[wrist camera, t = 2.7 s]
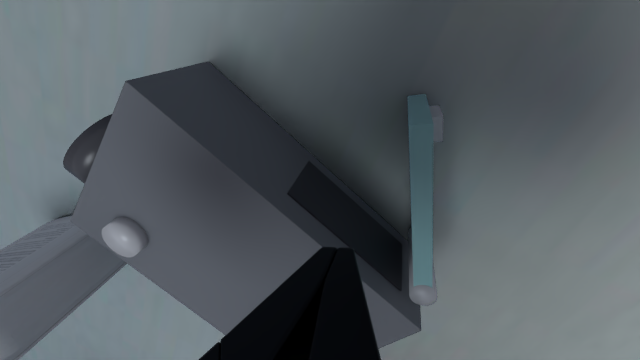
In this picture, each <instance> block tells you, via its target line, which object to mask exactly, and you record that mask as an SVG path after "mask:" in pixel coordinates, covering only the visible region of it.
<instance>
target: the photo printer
mask: <svg viewBox="0 0 640 360" xmlns="http://www.w3.org/2000/svg"><path fill="white" fill-rule="evenodd" d="M71 217H72V216H67V217H63V218H59V219H56V220H53V221H51V222H49V223H47V224H45V225H43V226H41V227H39V228H37V229H36V230H34V231H32V232H31V233H29V234H27V235H26V236H24V237H22V238H20V239H19V240H17V241H15V242H14V243H12V244H10V245H8V246H7V247H5V248H3V249H2V250H0V360H18V359H19V358H21V357H22V356H23V355H24V354H25V353H27V352H28V351H29V350H30V349H31V348H32V347H33V346H35V345H36V344H37V343H38V342H39V341H40V340H41V339H43V338H44V337H45V336H46V335H47V334H48V333H49V332H50V331H52V330H53V329H54V328H55V327H56V326H57V325H58V324H60V323H61V322H62V321H63V320H64V319H65V318H66V317H67V316H69V315H70V314H71V313H72V312H73V311H74V310H75V309H76V308H77V307H79V306H80V305H81V304H82V303H83V302H84V301H86V300H87V299H88V298H89V297H90V296H91V295H92V294H93V293H94V292H96V291H97V290H98V289H99V288H100V287H101V286H102V285H104V284H105V283H106V282H107V281H108V280H109V279H110V278H111V277H113V276H114V275H115V274H116V273H117V272H118V271H119V270H120V269H121V268H123V267H124V266H125V265H126V264H127V263H126V262H125V261H123V260H122V259H121V258H119V257H118V256H117V255H115V254H114V253H113V252H111V251H110V250H108V249H107V248H106V247H104V246H103V245H102V244H100V243H99V242H98V241H96V240H95V239H93V238H92V237H91V236H89V235H88V234H87V233H85V232H84V231H83V230H81V229H80V228H78V227H77V226H76V225H74V224H73V223H72V222H70V220H71Z"/></svg>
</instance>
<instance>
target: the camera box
mask: <svg viewBox="0 0 640 360" xmlns="http://www.w3.org/2000/svg"><path fill="white" fill-rule="evenodd" d="M63 165H64V168H65V169H66V170H67V171H69V172H70V173H71V174H73V175H74V176H75V177H77V178H78V179H79V180H81V181H82V182H83V183H84V184H85V185H84V187H83V190H82V192H81V195H80V197H79V200H78V202H77V205H76V207H75V210H74V212H73V215H72V217H71V220H70V222H72V223H73V224H74V225H76V226H77V227H78V228H80V229H81V230H83V231H84V232H85V233H87V234H88V235H89V236H91V237H92V238H93V239H95V240H96V241H98V242H99V243H100V244H102V245H103V246H104V247H106V248H107V249H108V250H110V251H111V252H113V253H114V254H115V255H117V256H118V257H119V258H121V259H122V260H123V261H125V262H126V263H128V264H129V265H130V266H132V267H133V268H134V269H136V270H137V271H138V272H140V273H141V274H143V275H144V276H145V277H147V278H148V279H149V280H151V281H152V282H153V283H155V284H156V285H158V286H159V287H160V288H162V289H163V290H164V291H166V292H167V293H168V294H170V295H171V296H173V297H174V298H175V299H177V300H178V301H179V302H181V303H182V304H184V305H185V306H186V307H188V308H189V309H190V310H192V311H193V312H194V313H196V314H197V315H199V316H200V317H201V318H203V319H204V320H205V321H207V322H208V323H209V324H211V325H212V326H214V327H215V328H216V329H218V330H219V331H220V332H222V333H223V334H224V335H226V334H228V333H229V332H230V331H231V330H232V329H233V328H234V327H235V326H236V325H237V324H238V323H240V322H241V321H242V320H243V319H244V318H245V317H246V316H247V315H248V314H249V313H250V312H252V311H253V310H254V309H255V308H256V307H257V306H258V305H259V304H260V303H261V302H262V301H264V300H265V299H266V298H267V297H268V296H269V295H270V294H271V293H272V292H273V291H274V290H276V289H277V288H278V287H279V286H280V285H281V284H282V283H283V282H284V281H285V280H286V279H288V278H289V277H290V276H291V275H292V274H293V273H294V272H295V271H296V270H297V269H299V268H300V267H301V266H302V265H303V264H304V263H305V262H306V261H307V260H308V259H309V258H311V257H312V256H313V255H314V254H315V253H316V252H317V251H318V250H319V249H320V248H322V247H336V248H337V249H338V248H340V247H346V248H353V249H354V251H355V255H356V259H357V263H358V268H359V272H360V276H361V280H362V284H363V288H364V292H365V296H366V300H367V304H368V308H369V313H370V317H371V321H372V325H373V329H374V333H375V337H376V341H377V345H378V349H379V348H381V347H383V346H386V345H388V344H390V343H393V342H395V341H398V340H400V339H402V338H405V337H407V336H409V335H412V334H414V333H417V332H419V331H421V315H420V305H418V304H416V303H414V302H413V301H412V300H411V299H410V297H409V249H408V241H407V240H406V239H405V238H404V237H403V236H401V235H400V234H399V233H398V232H397V231H396V230H395V229H394V228H393V227H391V226H390V225H389V224H388V223H387V222H386V221H385V220H384V219H383V218H381V217H380V216H379V215H378V214H377V213H376V212H375V211H374V210H373V209H371V208H370V207H369V206H368V205H367V204H366V203H365V202H364V201H363V200H361V199H360V198H359V197H358V196H357V195H356V194H355V193H354V192H353V191H351V190H350V189H349V188H348V187H347V186H346V185H345V184H344V183H343V182H341V181H340V180H339V179H338V178H337V177H336V176H335V175H334V174H333V173H331V172H330V171H329V170H328V169H327V168H326V167H325V166H324V165H323V164H321V163H320V162H319V161H318V160H317V159H316V158H315V157H314V156H313V155H311V154H310V153H309V152H308V151H307V150H306V149H305V148H304V147H303V146H301V145H300V144H299V143H298V142H297V141H296V140H295V139H294V138H293V137H292V136H290V135H289V134H288V133H287V132H286V131H285V130H284V129H283V128H282V127H280V126H279V125H278V124H277V123H276V122H275V121H274V120H273V119H272V118H270V117H269V116H268V115H267V114H266V113H265V112H264V111H263V110H262V109H260V108H259V107H258V106H257V105H256V104H255V103H254V102H253V101H252V100H250V99H249V98H248V97H247V96H246V95H245V94H244V93H243V92H242V91H240V90H239V89H238V88H237V87H236V86H235V85H234V84H233V83H232V82H230V81H229V80H228V79H227V78H226V77H225V76H224V75H223V74H222V73H220V72H219V71H218V70H217V69H216V68H215V67H214V66H213V65H212V64H210V63H209V62H204V63H200V64H196V65H191V66H187V67H183V68H179V69H175V70H170V71H166V72H162V73H158V74H153V75H149V76H145V77H141V78H136V79H132V80H128V81H125V84H124V86H123V89H122V91H121V94H120V96H119V99H118V101H117V104H116V106H115V109H114V111H113V114H111V115H109V116H107V117H104V118H103V119H101V120H99V121H98V122H96V123H94V124H93V125H92V126H90V127H89V128H88V129H86V130H85V131H84V132H83V133H82V134H81V135H80V136H79V137H78V138H77V139H76V140H75V141H74V142H73V143H72V145H71V146H70V147H69V149H68V151H67V152H66V154H65V157H64V161H63Z"/></svg>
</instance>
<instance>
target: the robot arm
mask: <svg viewBox="0 0 640 360" xmlns="http://www.w3.org/2000/svg"><path fill="white" fill-rule="evenodd" d="M199 360H381V358H380V353H379V349H378V345H377V341H376V337H375V333H374V329H373V325H372V321H371V317H370V313H369V308H368V304H367V300H366V296H365V292H364V288H363V284H362V280H361V276H360V272H359V268H358V263H357V259H356V255H355V251H354V249H353V248H346V247H340V248H338V249H337V248H336V247H322V248H320V249H319V250H318V251H317V252H316V253H315V254H314V255H313V256H312V257H311V258H309V259H308V260H307V261H306V262H305V263H304V264H303V265H302V266H301V267H300V268H299V269H297V270H296V271H295V272H294V273H293V274H292V275H291V276H290V277H289V278H288V279H286V280H285V281H284V282H283V283H282V284H281V285H280V286H279V287H278V288H277V289H276V290H274V291H273V292H272V293H271V294H270V295H269V296H268V297H267V298H266V299H265V300H264V301H262V302H261V303H260V304H259V305H258V306H257V307H256V308H255V309H254V310H253V311H252V312H250V313H249V314H248V315H247V316H246V317H245V318H244V319H243V320H242V321H241V322H240V323H238V324H237V325H236V326H235V327H234V328H233V329H232V330H231V331H230V332H229V333H228V334H226V335H225V336H224V337H223V338H222V339H221V343H220V342H218V343H216V344H215V345H214V346H213V347H212V348H211V349H210V350H209V351H208V352H207V353H206V354H204V355H203V356H202V357H201V358H200V359H199Z"/></svg>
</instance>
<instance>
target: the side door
mask: <svg viewBox="0 0 640 360" xmlns="http://www.w3.org/2000/svg"><path fill="white" fill-rule="evenodd" d="M407 98H408V130H409V161H410V192H411V224H412V227H411V228H410V229H409V231H408V249H409V297H410V299H411V300H412V301H413V302H414V303H416V304H418V305H423V306H427V305H431V304H433V303H435V302H436V300H437V290H436V281H435V272H434V264H433V142H443V114H442V111H441V109H440V106H439V105H435V106H429V105H428V101H427V97H426V94H421V95H411V96H407Z"/></svg>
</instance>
